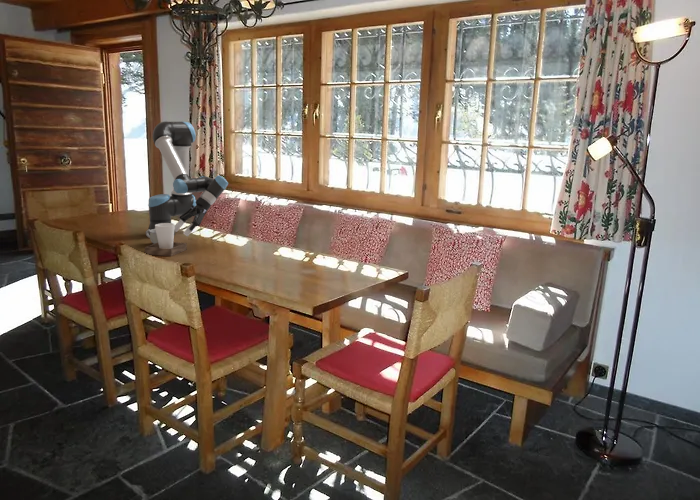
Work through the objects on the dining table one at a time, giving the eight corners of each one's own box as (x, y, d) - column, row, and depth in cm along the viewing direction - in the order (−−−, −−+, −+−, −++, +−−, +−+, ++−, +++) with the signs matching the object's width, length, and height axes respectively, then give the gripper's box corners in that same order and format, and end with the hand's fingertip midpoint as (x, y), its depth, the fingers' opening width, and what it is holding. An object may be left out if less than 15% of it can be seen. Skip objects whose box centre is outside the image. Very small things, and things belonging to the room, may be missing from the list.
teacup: (175, 243, 293) (174, 228, 291) (161, 247, 284) (160, 232, 282) (156, 240, 299) (155, 226, 297) (141, 244, 289) (140, 229, 287)
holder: (145, 254, 269) (144, 247, 268) (161, 247, 282) (161, 241, 282) (171, 256, 265) (170, 249, 265) (186, 249, 279) (186, 243, 278)
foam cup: (164, 252, 267) (163, 227, 264) (152, 250, 272) (150, 225, 269) (179, 249, 275) (178, 224, 272) (167, 247, 280) (166, 222, 277)
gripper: (221, 208, 276) (195, 241, 270) (200, 202, 294) (175, 233, 288) (211, 199, 271) (184, 232, 265) (190, 193, 289) (165, 224, 284)
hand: (179, 232), depth 277 cm, fingers open, 13 cm apart
